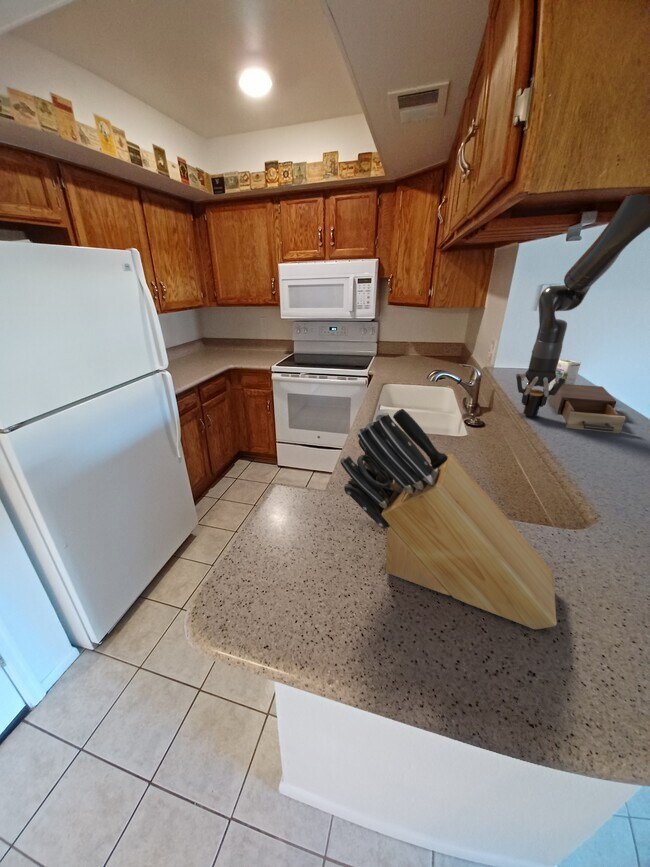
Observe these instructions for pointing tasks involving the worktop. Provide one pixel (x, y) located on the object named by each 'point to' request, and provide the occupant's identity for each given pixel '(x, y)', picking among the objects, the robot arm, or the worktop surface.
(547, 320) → the robot arm
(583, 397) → the cabinet
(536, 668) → the worktop surface
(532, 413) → the spice tin
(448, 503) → the knife block
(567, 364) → the syrup box
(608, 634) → the worktop surface
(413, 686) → the worktop surface
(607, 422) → the drawer
